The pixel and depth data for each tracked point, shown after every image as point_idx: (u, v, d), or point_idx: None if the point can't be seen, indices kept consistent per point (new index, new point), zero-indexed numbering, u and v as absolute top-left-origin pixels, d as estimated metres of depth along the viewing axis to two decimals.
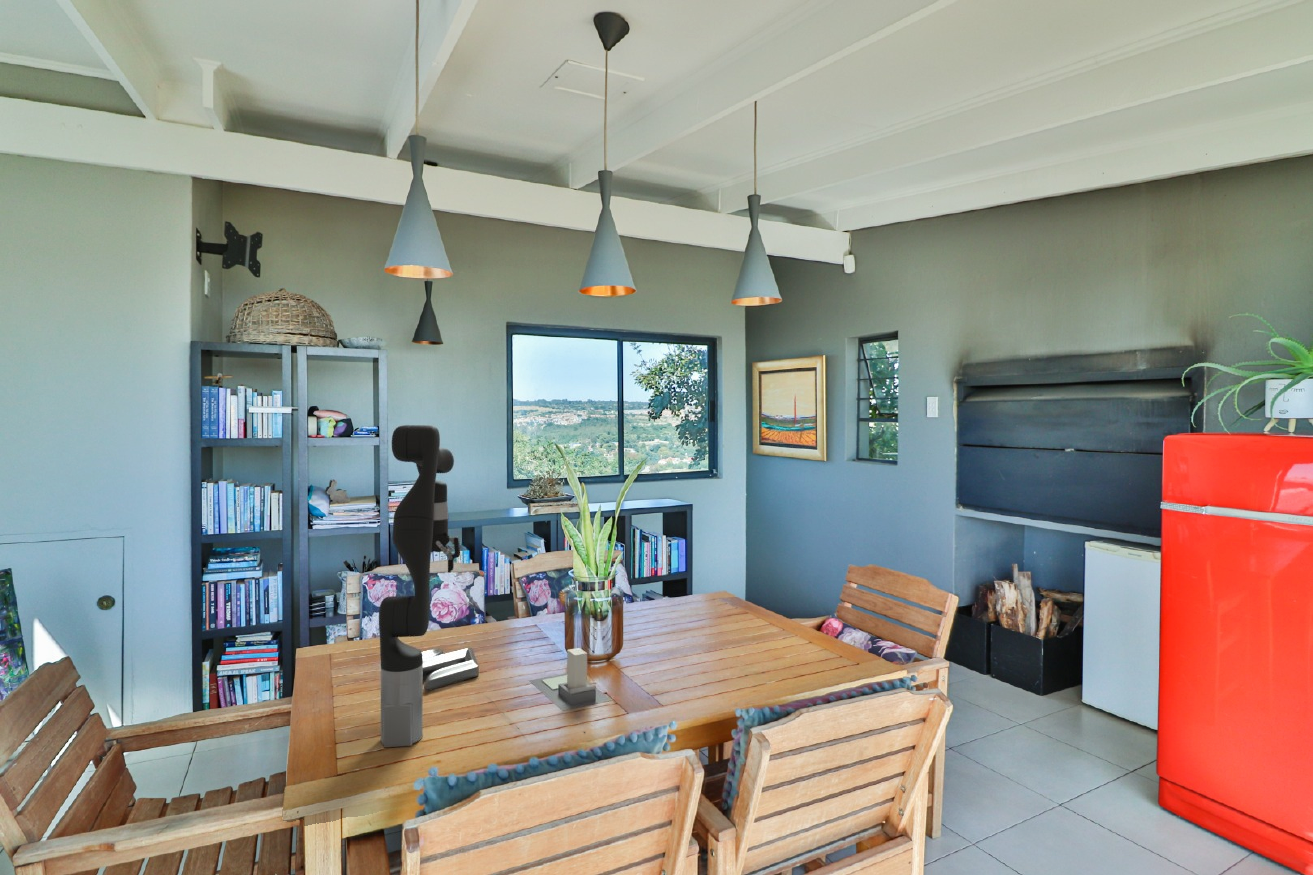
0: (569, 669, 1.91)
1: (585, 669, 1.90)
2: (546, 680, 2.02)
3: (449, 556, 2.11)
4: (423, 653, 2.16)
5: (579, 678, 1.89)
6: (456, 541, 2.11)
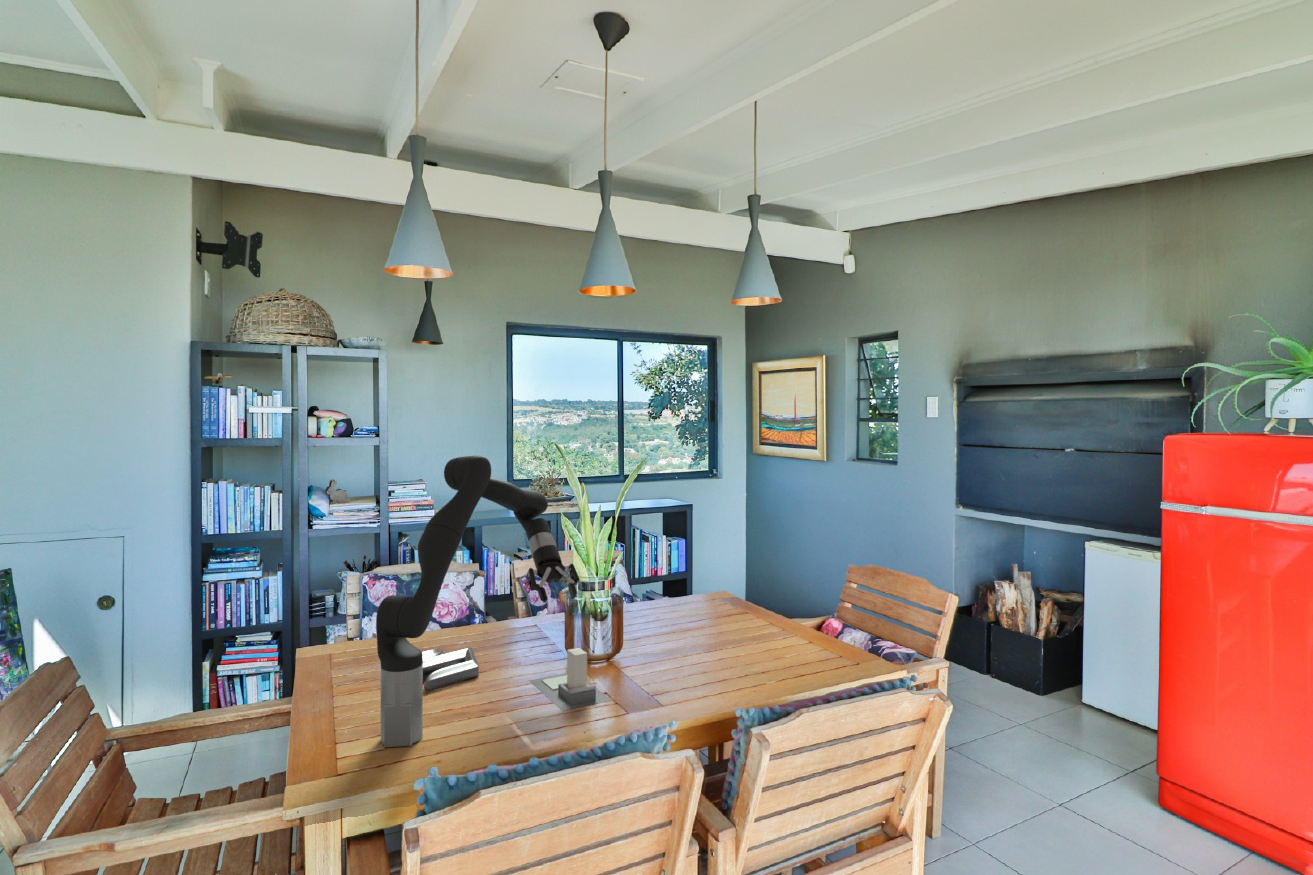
0: (569, 669, 1.91)
1: (585, 669, 1.90)
2: (546, 680, 2.02)
3: (570, 580, 2.05)
4: (423, 653, 2.16)
5: (579, 678, 1.89)
6: (572, 567, 2.09)
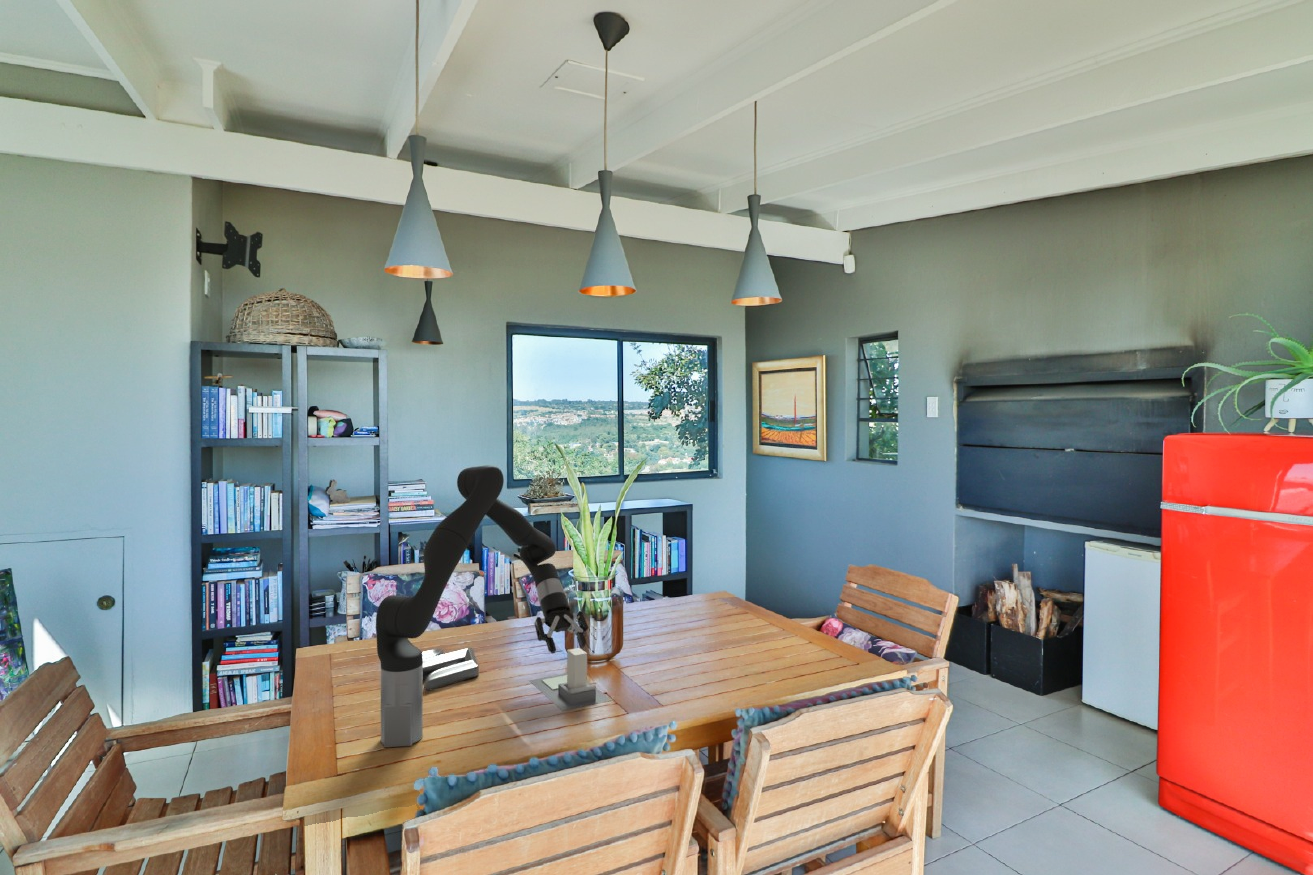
0: (569, 669, 1.91)
1: (585, 669, 1.90)
2: (546, 680, 2.02)
3: (579, 629, 2.00)
4: (423, 653, 2.16)
5: (579, 678, 1.89)
6: (581, 614, 2.04)
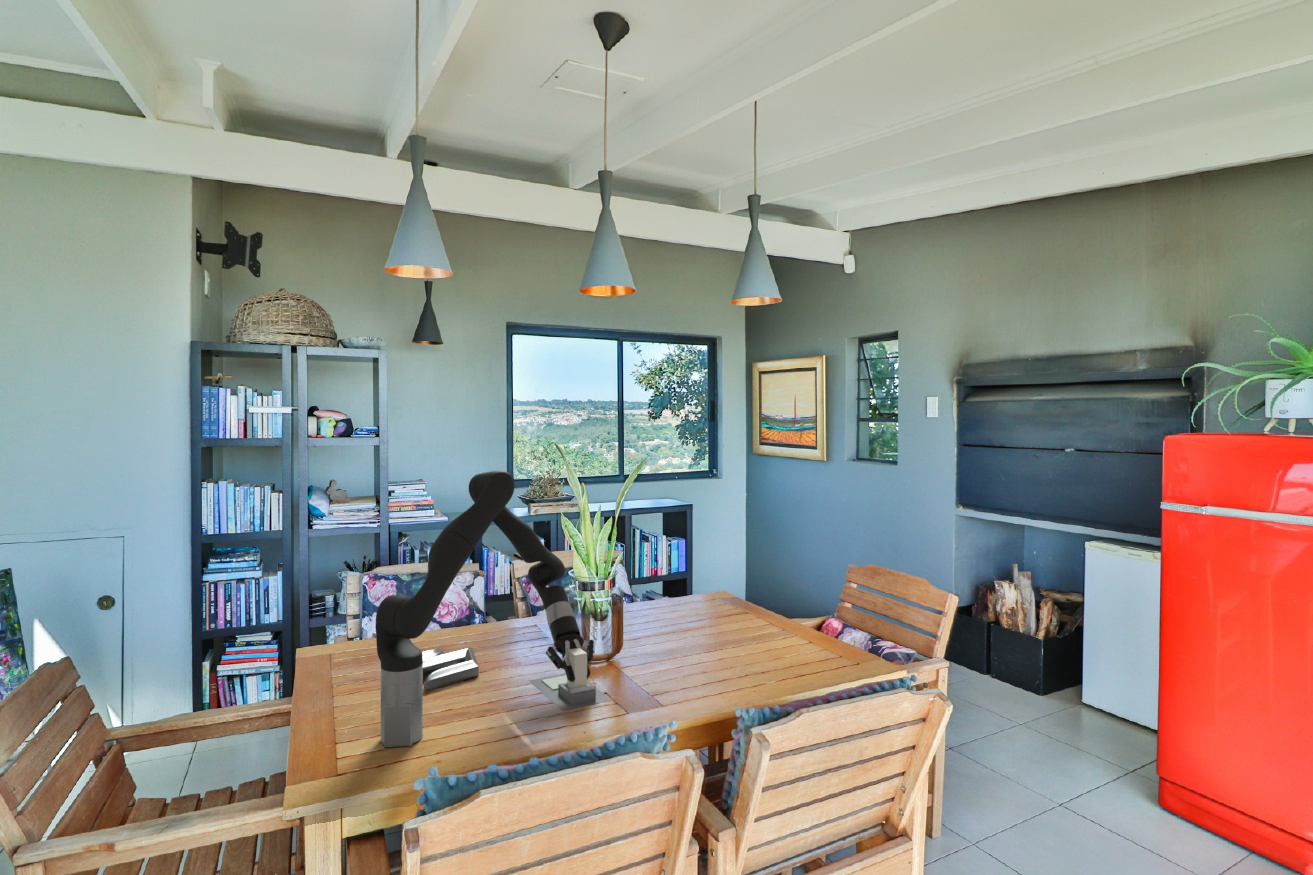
0: None
1: (585, 669, 1.90)
2: (546, 680, 2.02)
3: None
4: (423, 653, 2.16)
5: (579, 678, 1.89)
6: (591, 643, 1.97)
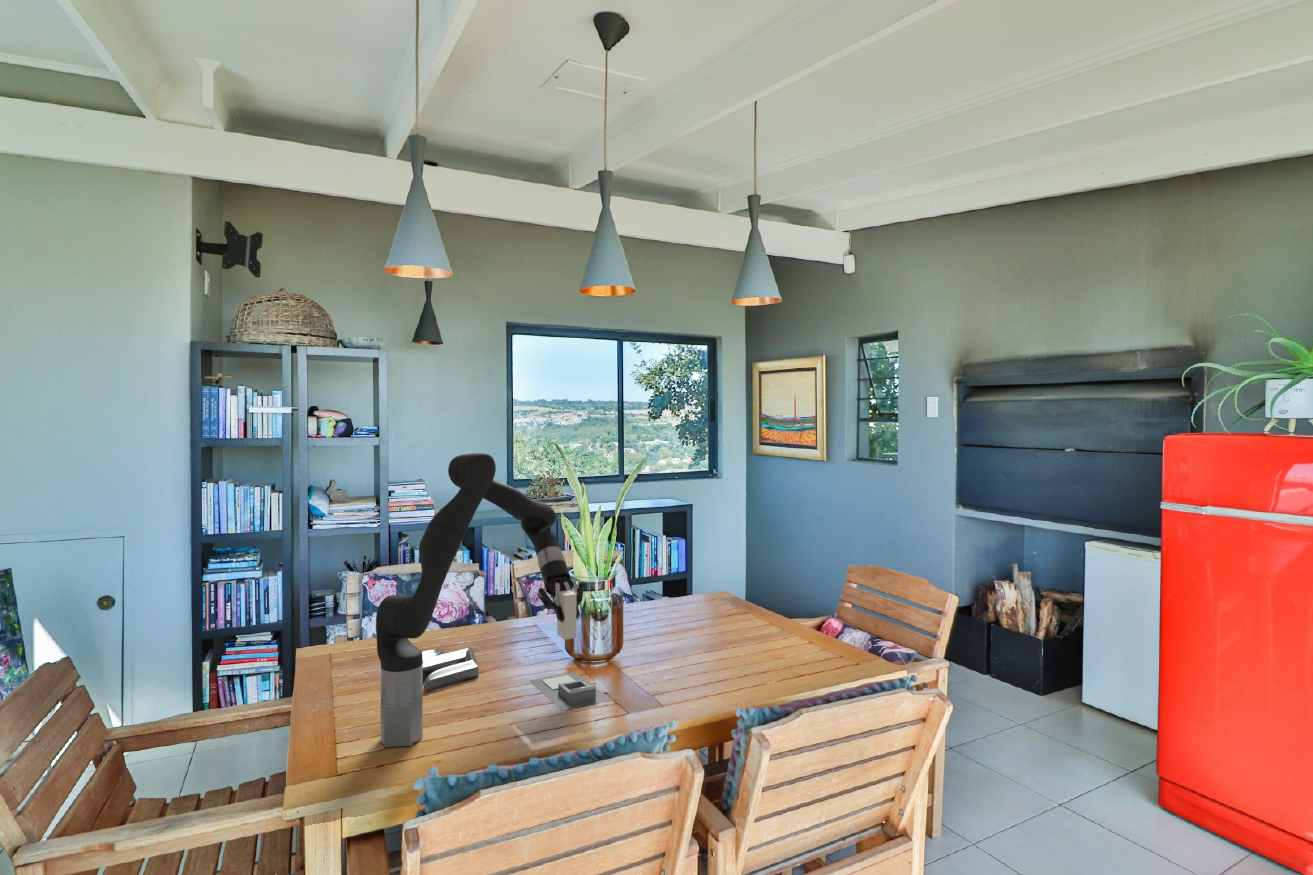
0: None
1: (574, 609, 1.96)
2: (546, 680, 2.02)
3: None
4: (423, 653, 2.16)
5: (569, 618, 1.95)
6: (581, 586, 2.03)
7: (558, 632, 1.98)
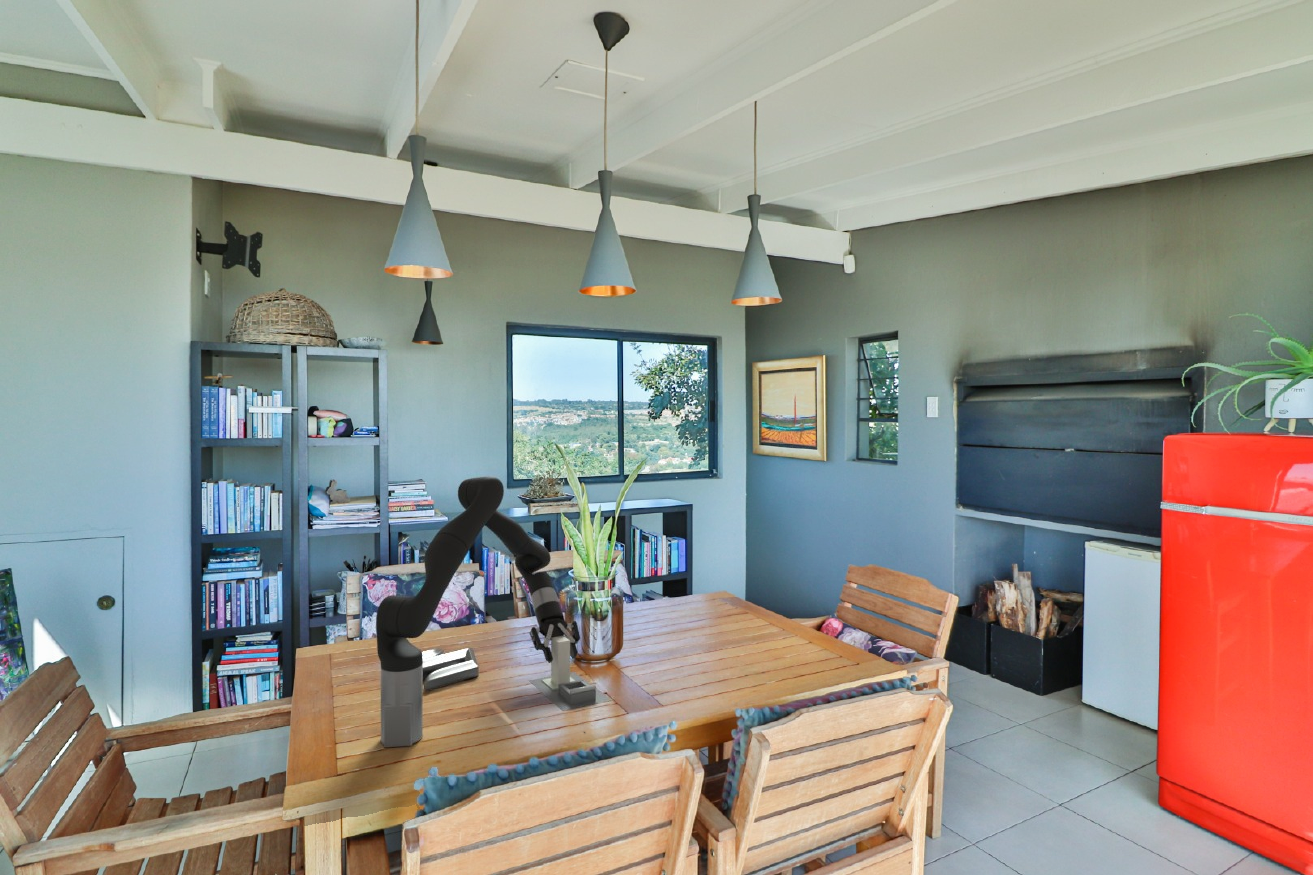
0: (553, 656, 2.01)
1: (568, 656, 1.99)
2: (546, 680, 2.02)
3: (571, 639, 2.03)
4: (423, 653, 2.16)
5: (563, 664, 1.98)
6: (575, 624, 2.07)
7: (552, 678, 2.01)
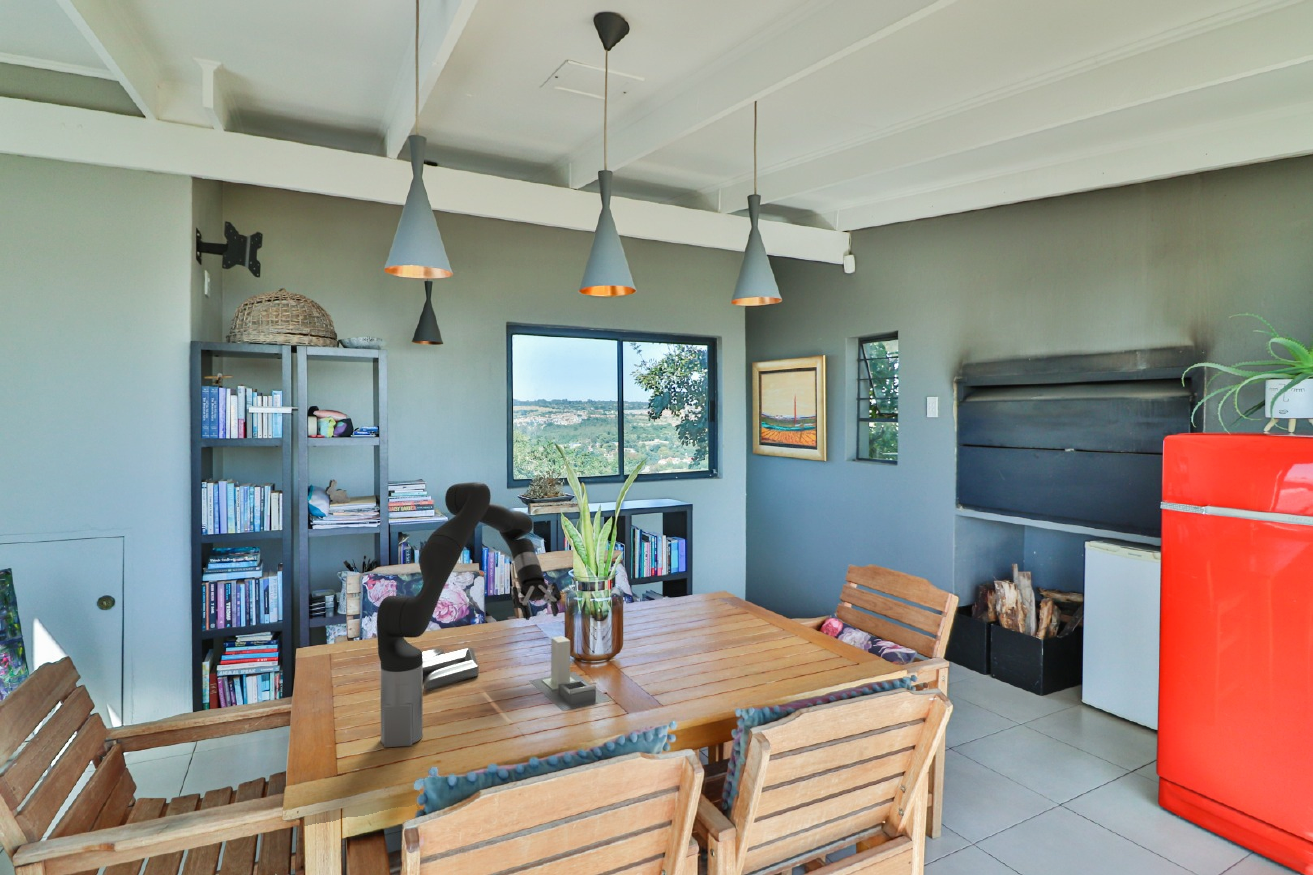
0: (553, 656, 2.01)
1: (568, 656, 1.99)
2: (546, 680, 2.02)
3: (553, 598, 2.14)
4: (423, 653, 2.16)
5: (563, 664, 1.98)
6: (555, 585, 2.18)
7: (552, 678, 2.01)
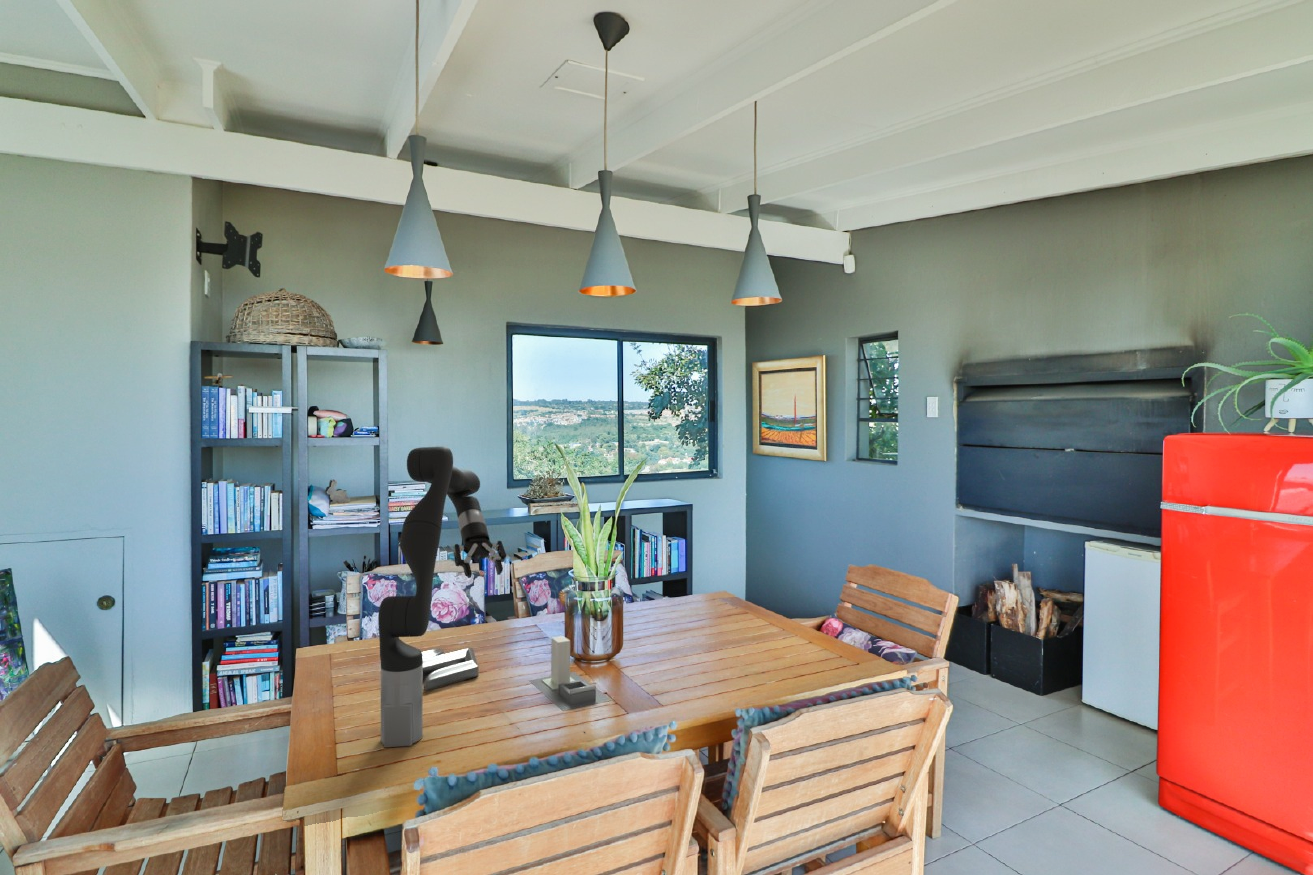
0: (553, 656, 2.01)
1: (568, 656, 1.99)
2: (546, 680, 2.02)
3: (497, 556, 2.07)
4: (423, 653, 2.16)
5: (563, 664, 1.98)
6: (500, 543, 2.11)
7: (552, 678, 2.01)
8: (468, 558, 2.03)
